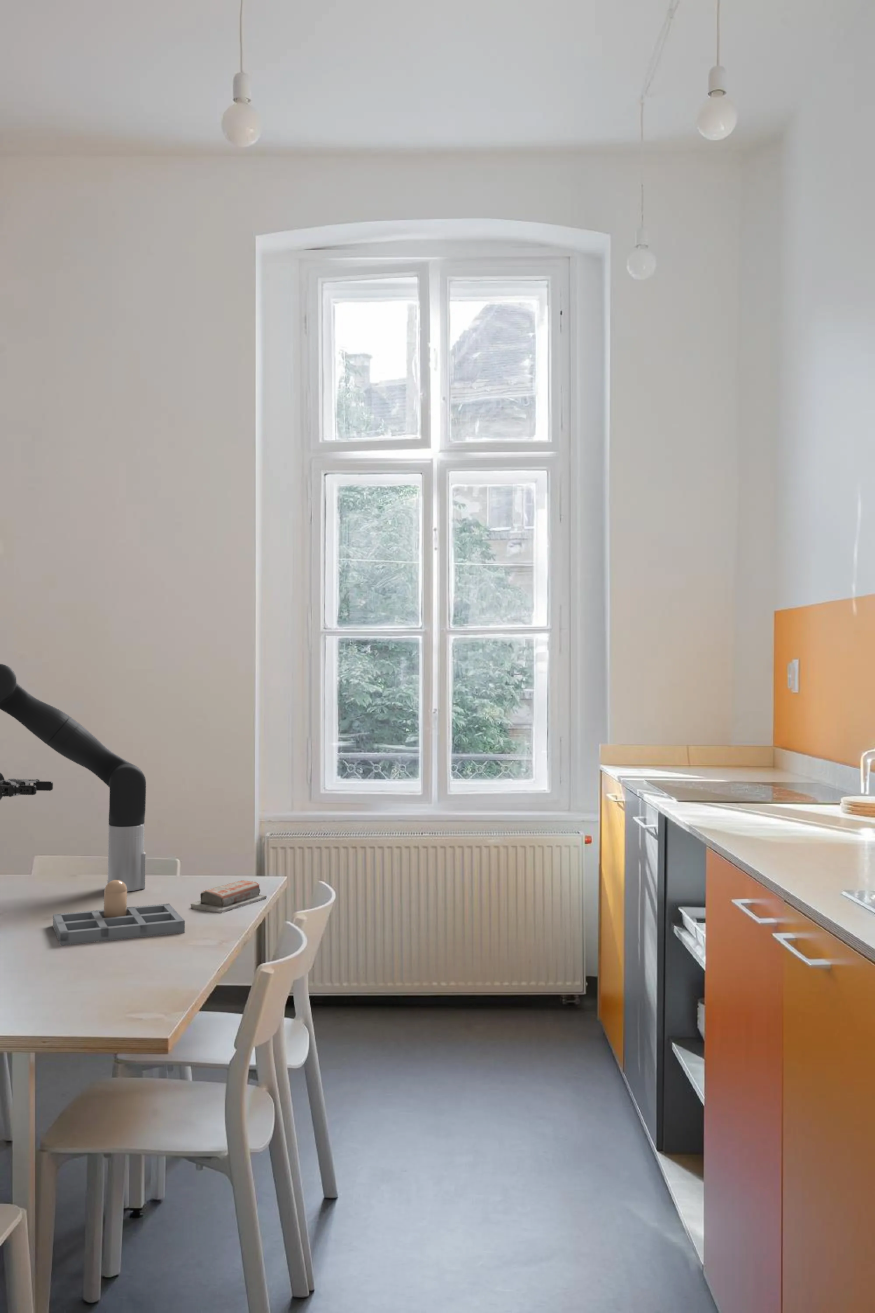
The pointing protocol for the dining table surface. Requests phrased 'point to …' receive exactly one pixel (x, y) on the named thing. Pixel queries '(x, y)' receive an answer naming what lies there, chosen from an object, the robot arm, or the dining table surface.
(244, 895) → the packaged product
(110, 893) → the tan domed cylinder
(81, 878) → the dining table surface
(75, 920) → the grey compartment tray
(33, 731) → the robot arm
